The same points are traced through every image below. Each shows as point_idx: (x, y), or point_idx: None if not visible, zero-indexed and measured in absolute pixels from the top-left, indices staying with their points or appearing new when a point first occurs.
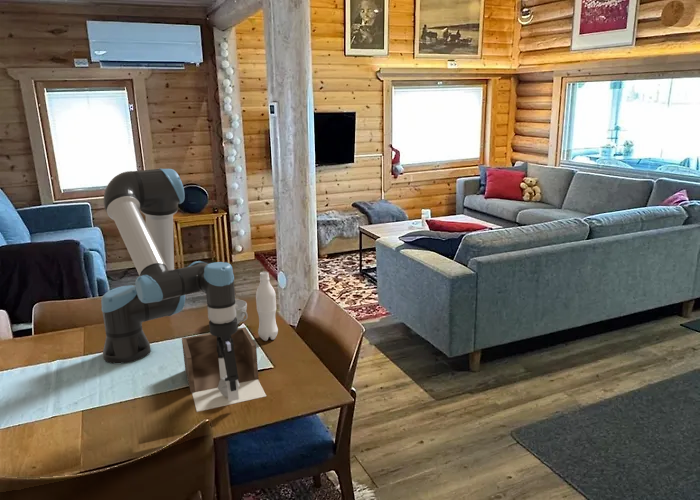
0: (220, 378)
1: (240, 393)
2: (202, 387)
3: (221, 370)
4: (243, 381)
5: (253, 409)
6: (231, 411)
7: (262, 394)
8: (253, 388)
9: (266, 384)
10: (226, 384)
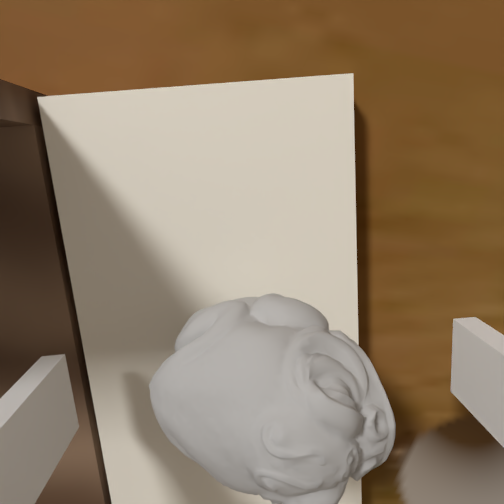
0: (71, 431)
1: (237, 265)
2: (62, 496)
3: (37, 476)
4: (46, 220)
5: (410, 193)
6: (374, 326)
7: (317, 102)
8: (191, 158)
9: (85, 37)
10: (385, 453)
